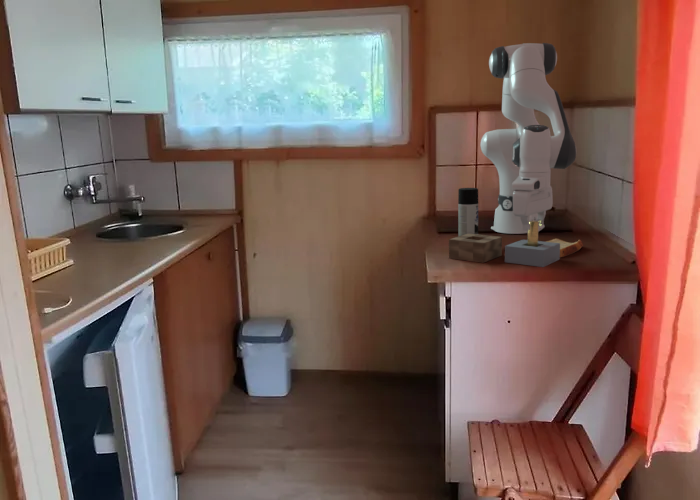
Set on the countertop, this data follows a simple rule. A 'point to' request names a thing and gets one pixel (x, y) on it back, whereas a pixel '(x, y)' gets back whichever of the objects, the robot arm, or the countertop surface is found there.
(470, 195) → the spray can
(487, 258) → the tan wooden mount
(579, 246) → the slice of bread
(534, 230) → the brass pin
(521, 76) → the robot arm
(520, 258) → the slate socket block
